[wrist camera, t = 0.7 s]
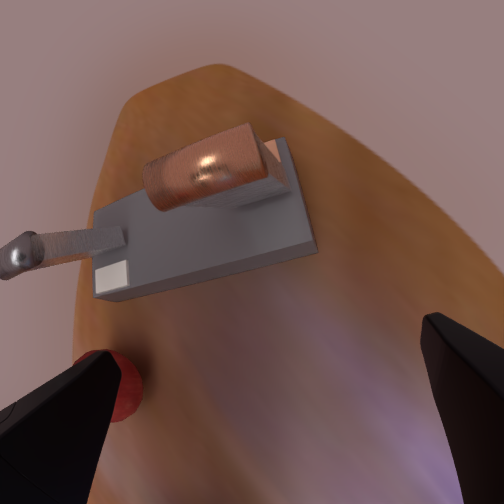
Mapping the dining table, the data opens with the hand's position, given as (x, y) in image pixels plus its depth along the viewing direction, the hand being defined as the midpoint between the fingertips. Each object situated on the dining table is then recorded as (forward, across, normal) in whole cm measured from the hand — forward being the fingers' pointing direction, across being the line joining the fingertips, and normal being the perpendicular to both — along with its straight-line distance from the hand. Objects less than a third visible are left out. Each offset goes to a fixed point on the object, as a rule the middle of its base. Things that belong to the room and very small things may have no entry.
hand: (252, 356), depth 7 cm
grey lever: (+13, +14, 0) cm, 19 cm away
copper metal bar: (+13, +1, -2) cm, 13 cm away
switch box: (+16, +7, +1) cm, 18 cm away
